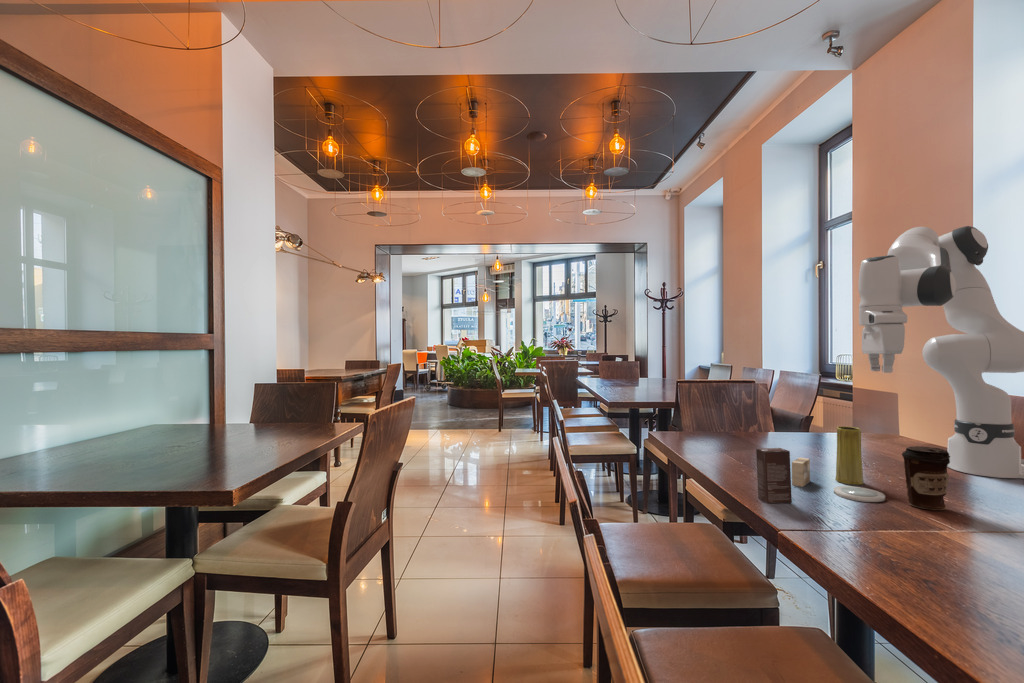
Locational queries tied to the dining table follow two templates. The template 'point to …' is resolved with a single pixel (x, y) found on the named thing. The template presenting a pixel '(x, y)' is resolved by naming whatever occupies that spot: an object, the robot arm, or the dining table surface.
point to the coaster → (859, 494)
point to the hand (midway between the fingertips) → (881, 372)
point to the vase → (849, 456)
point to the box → (774, 475)
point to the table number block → (800, 471)
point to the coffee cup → (926, 476)
